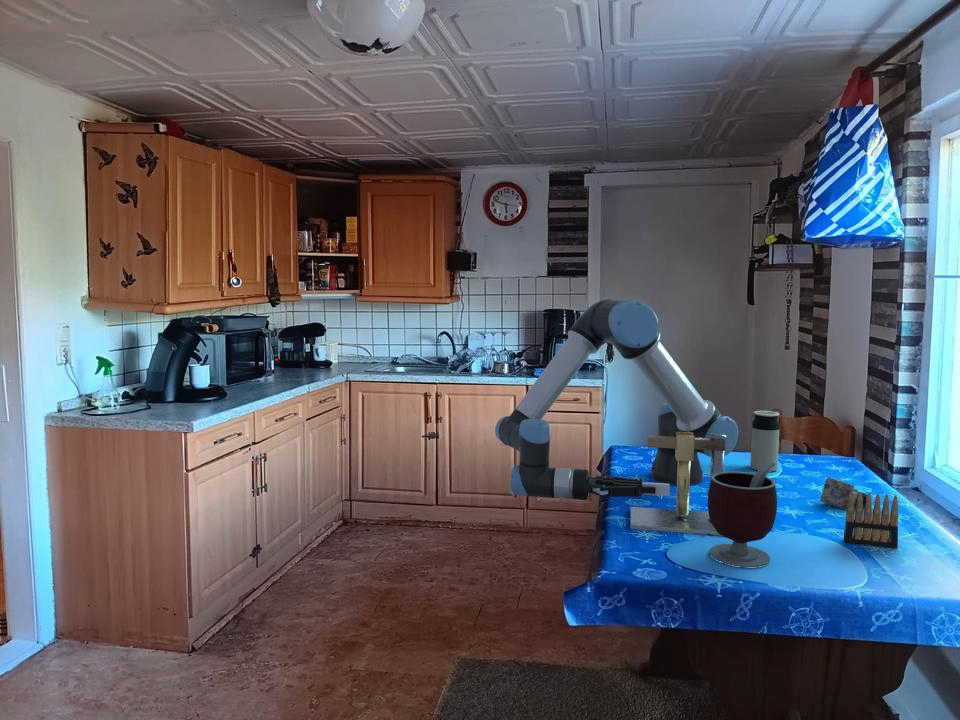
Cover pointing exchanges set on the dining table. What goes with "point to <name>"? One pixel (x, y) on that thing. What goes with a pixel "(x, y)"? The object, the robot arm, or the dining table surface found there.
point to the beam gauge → (669, 518)
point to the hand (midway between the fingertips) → (669, 489)
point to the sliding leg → (683, 470)
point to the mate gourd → (742, 514)
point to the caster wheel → (839, 493)
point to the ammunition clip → (872, 522)
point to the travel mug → (764, 440)
